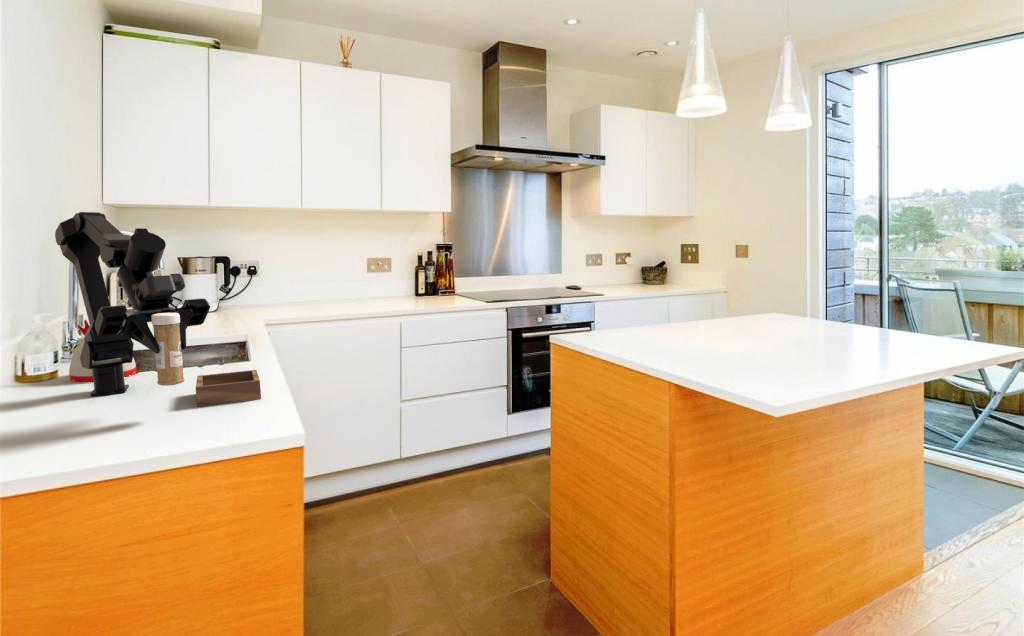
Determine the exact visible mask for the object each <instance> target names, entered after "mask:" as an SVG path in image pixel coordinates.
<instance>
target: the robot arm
mask: <svg viewBox="0 0 1024 636" xmlns="http://www.w3.org/2000/svg"><path fill="white" fill-rule="evenodd" d="M134 229H135V230H134V232H133V234H132V235H129V234H128V235H127V234H124V233H122V232H121V231H120V230H119V229H118V228H116V226H114V225H113V224H112V223H111V222H110V221H109V220H108V219H107V217H106V215H105V214H104V213H101V212H100V211H99V212H97V211H94V212H93V211H79V212H76V213H75V214H74V215H73V217H71V218H68V219H66V220H63V221H61V222H59V224H58V226H57V228H56V230H55V232H54V237H55V238H54V239H55V242H56V245H57V246H59V248H60V251H61V253H62V256H63V257H65V258H66V259H67V260H68V261H70V262H71V263H72V265H74V269H75V273H76V276H77V280H78V284H79V285H78V286H79V288H80V292H81V296H82V300H83V304H84V308H85V311H86V315H87V319H88V320H87V321H88V324H89V328H88V330H87V333H86V335H85V336H84V337H83V338H84V340H85V342H84V345H83V349H82V352H81V356H80V361H81V365H82V367H84V368H86V369H92V373H93V382H92V383H93V390H91V392H90V394H89V395H90V397H94V396H95V397H96V396H104V395H113V394H121V393H126V392H127V391H128V389H129V388H130V384H126V383H125V378H124V372H123V364H124V363H132V359H133V358H134V342H133V341H135V342H137V343H139V344H141V345H143V346H144V347H145V348H147V349H149V350H150V351H152V352H153V353H154V354H155V353H156V354H157V353H159V352H160V349H159V346H158V343H157V341H156V339H155V338H154V333H153V332H152V330H151V329H150V327H149V323H152V315H153V314H158V313H179V315H180V323H179V324H180V325H179V329H180V341H181V349H182V350H183V351H184V350H186V348H187V329H188V327H193V326H201V325H202V324H204V323H205V320H206V318H207V316H208V314H209V311H210V309H211V305H210V303H209V301H208V300H207V299H206V298H192V299H184V301H183V303H182V306H181V307H170V305H172V304H173V302H174V298H173V295H174V294H176V293H177V292H182V291H183V290H184V289H185V288H186V284H185V280H184V278H183V276H182V275H181V273H170V275H169V274H167V275H154V274H153V272H154V271H156V270H158V269H159V267H160V264H161V260H162V258H163V255H164V252H165V249H166V246H167V244H166V241H165V240H164V239H163V238H162V237H161V236H160V235H158V234H156V233H153V232H150V231H148V229H147V228H146V227H145V228H144V227H142V228H139V227H137V228H134ZM99 258H100V259H99ZM100 260H101V261H102V263H104V265H105V266H106V267H107V268H110V269H113V268H114V269H115V268H116V269H117V268H118V270H117V272H116V275H117V278H118V280H117V285H118V288H123V291H124V293H125V295H126V298H127V302H126V304H127V306H128V307H129V308H128V309H127V307H126V305H124V304H121V305H120V304H119V305H111V301H110V297H109V294H108V289H107V285H106V282H105V278H104V275H103V269H102V267H101V264H100ZM130 307H132V308H130ZM117 358H118V359H117ZM111 359H112V360H111ZM104 360H105V361H104ZM92 361H94V362H92ZM97 361H98V362H97Z"/></svg>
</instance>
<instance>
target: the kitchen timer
mask: <svg viewBox="0 0 1024 636" xmlns="http://www.w3.org/2000/svg"><path fill="white" fill-rule="evenodd" d="M83 326H84V327H82V326H81V325H80V324H78V325H77V327H78V329H79V331H80V332H81V333H82V334H83V336H84V337H85V335H86V333H87V330H88V328H89V326H90V324H89V321H88V320H87V319H84V325H83ZM84 337H83V338H81V340H80V341H79V343H78V344H77V346H76V347H75V348H73V350H71V352H72V357H71V360H70V365H69V369H68V371H69V372H68V376H69V381H70V380H71V381H72V382H71V381H70V382H71V383H76V382H92V383H94V382H93V373H92V369H86V368H84V367H82V365H81V361H80V356H81V352H82V349H83V345H84V342H85V340H84ZM117 359H118V358H117ZM111 360H112V359H111ZM104 361H105V360H104ZM92 362H94V361H92ZM97 362H98V361H97ZM137 371H138V369H137V365H136V361H135V358H134V357H133V359H132V363H124V364H123V372H124V377H126V378H128V377H132V376H134V375H136V374H137ZM129 375H131V376H129Z"/></svg>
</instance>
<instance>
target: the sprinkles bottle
mask: <svg viewBox="0 0 1024 636" xmlns="http://www.w3.org/2000/svg"><path fill="white" fill-rule="evenodd" d="M179 323H180V315H179V313H158V314H153V315H152V322H151V324H152V327H153V328H152V329H153V336H154V338H155V339H156V341H157V343H158V346H159V349H160V352H159V353H157V354H156V353H155V352H154V354H155V355H154V358H155V367H156V371H157V373H156V374H157V382H156V383H157V385H159V386H162V387H163V386H165V387H166V386H176V385H179V384H182V383H184V382H185V378H184V367H183V364H184V363H183V351H182V350H183V349H182V348H181V341H180V329H179V325H180V324H179Z"/></svg>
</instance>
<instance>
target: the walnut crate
mask: <svg viewBox="0 0 1024 636" xmlns="http://www.w3.org/2000/svg"><path fill="white" fill-rule="evenodd" d="M195 383H196V384H195V396H196V407H197V408H200V407H209V406H215V405H222V404H223V405H224V404H230V403H240V402H247V401H255V400H261V399H262V393H261V380H260V377H259V374H258V370H257V369H252V370H249V369H248V370H239V371H231V372H221V373H212V374H203V375H197V377H196V382H195Z"/></svg>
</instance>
